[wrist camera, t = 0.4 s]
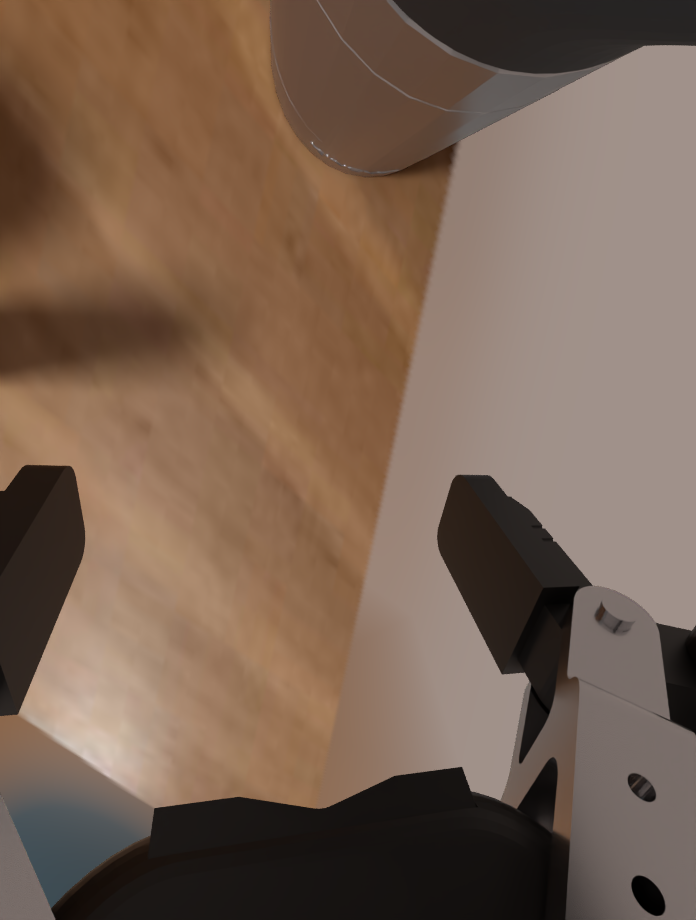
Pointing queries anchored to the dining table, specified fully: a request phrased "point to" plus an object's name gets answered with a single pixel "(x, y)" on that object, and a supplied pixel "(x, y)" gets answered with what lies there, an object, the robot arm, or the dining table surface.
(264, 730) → the dining table surface
